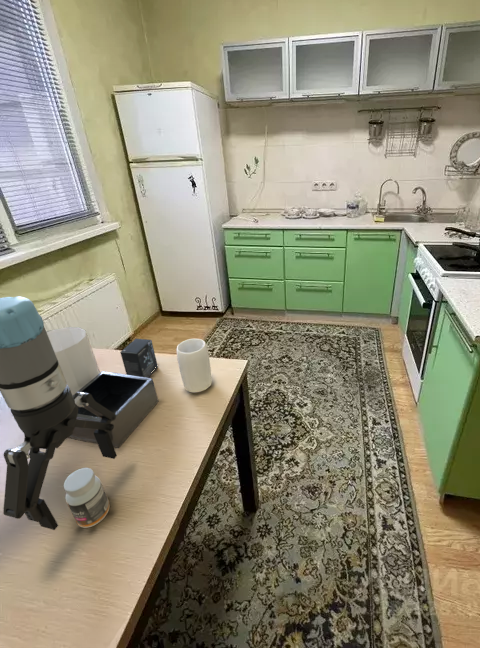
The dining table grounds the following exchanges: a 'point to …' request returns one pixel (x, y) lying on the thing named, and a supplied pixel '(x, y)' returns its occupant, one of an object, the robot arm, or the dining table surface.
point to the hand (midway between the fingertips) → (82, 487)
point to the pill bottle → (86, 497)
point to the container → (74, 356)
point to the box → (139, 358)
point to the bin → (117, 404)
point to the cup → (194, 365)
